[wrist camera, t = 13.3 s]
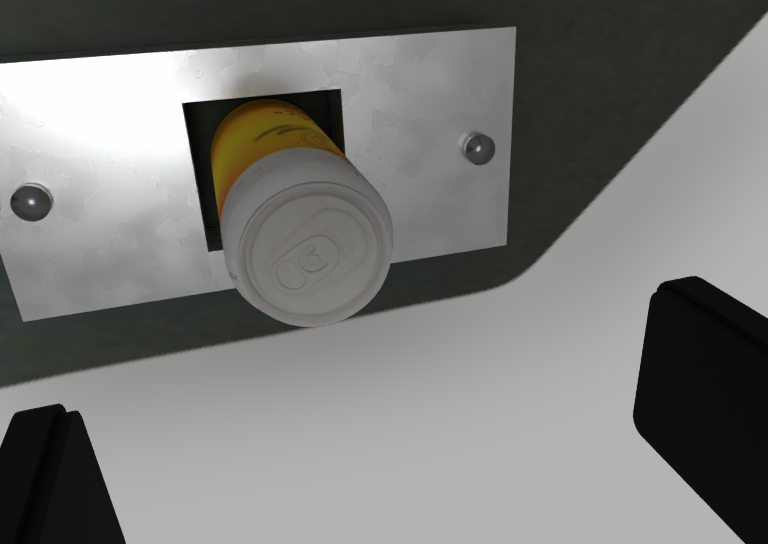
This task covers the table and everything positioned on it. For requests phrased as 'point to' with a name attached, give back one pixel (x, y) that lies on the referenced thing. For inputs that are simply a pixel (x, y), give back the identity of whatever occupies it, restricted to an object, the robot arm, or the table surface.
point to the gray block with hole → (177, 167)
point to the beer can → (296, 217)
